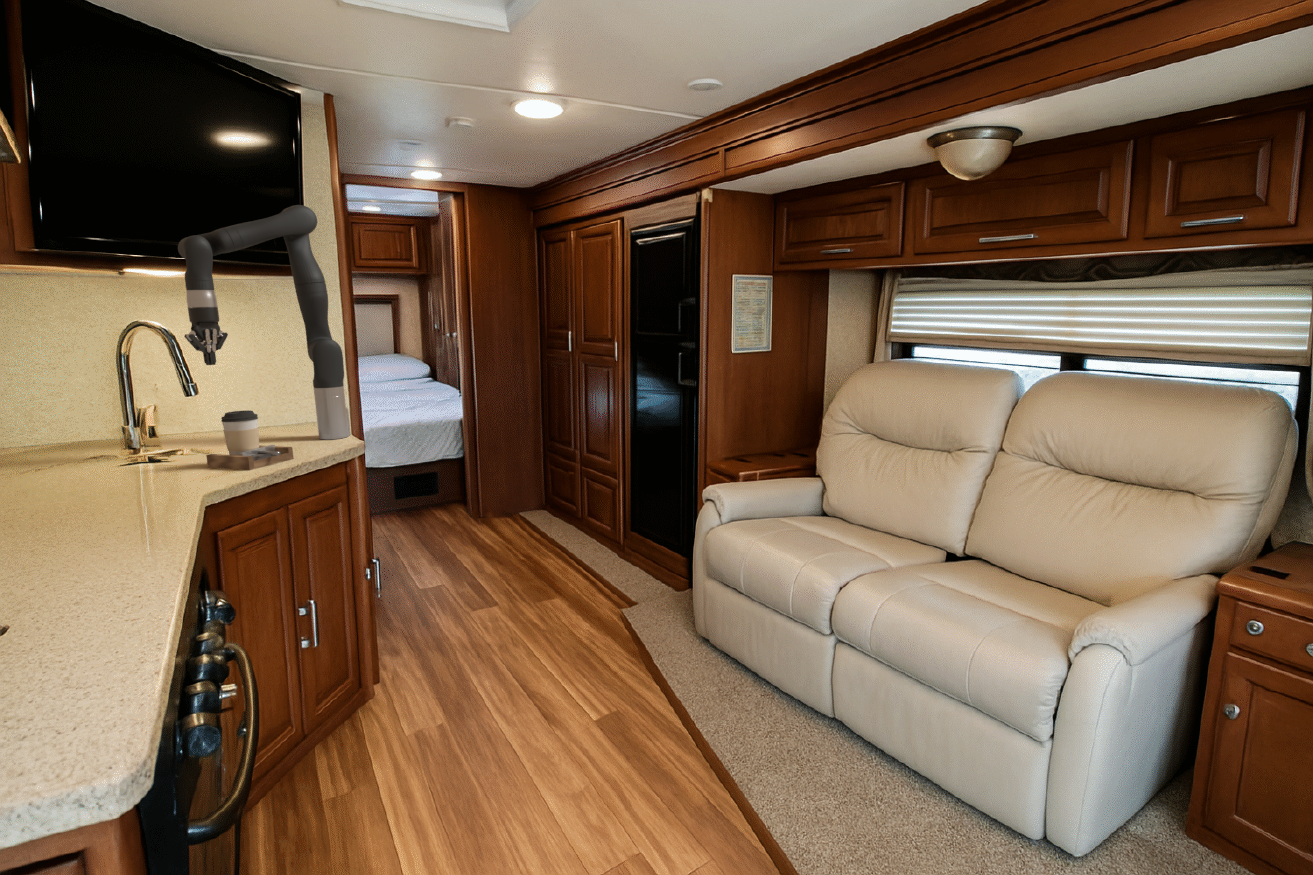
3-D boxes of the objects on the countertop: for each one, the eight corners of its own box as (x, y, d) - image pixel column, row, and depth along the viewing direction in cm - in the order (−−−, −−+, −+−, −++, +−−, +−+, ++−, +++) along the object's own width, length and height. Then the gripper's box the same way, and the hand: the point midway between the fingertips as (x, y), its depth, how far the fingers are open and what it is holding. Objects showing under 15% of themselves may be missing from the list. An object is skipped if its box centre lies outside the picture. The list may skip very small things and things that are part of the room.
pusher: (240, 466, 195) (238, 452, 194) (273, 458, 205) (271, 444, 205) (263, 467, 193) (262, 453, 192) (295, 459, 203) (294, 445, 202)
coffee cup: (221, 464, 200) (213, 411, 197) (254, 458, 207) (247, 407, 205) (236, 467, 195) (229, 413, 192) (269, 461, 202) (263, 409, 200)
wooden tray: (207, 467, 196) (206, 455, 196) (253, 456, 210) (252, 445, 210) (249, 470, 192) (248, 457, 191) (293, 458, 206) (292, 446, 205)
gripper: (213, 306, 217) (220, 363, 220) (172, 306, 204) (180, 366, 207) (231, 305, 214) (239, 363, 218) (191, 305, 202) (200, 366, 205)
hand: (210, 364), depth 212 cm, fingers closed
